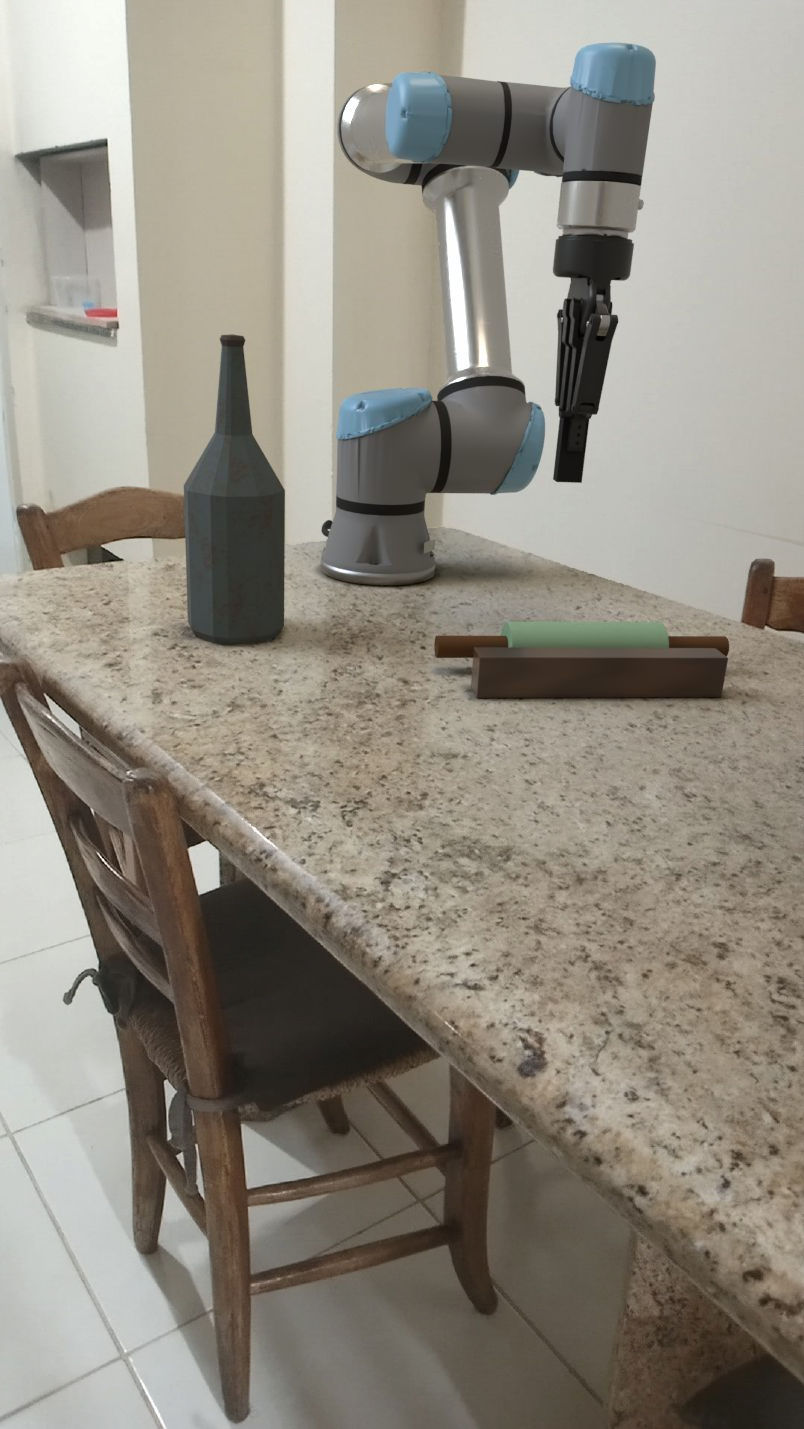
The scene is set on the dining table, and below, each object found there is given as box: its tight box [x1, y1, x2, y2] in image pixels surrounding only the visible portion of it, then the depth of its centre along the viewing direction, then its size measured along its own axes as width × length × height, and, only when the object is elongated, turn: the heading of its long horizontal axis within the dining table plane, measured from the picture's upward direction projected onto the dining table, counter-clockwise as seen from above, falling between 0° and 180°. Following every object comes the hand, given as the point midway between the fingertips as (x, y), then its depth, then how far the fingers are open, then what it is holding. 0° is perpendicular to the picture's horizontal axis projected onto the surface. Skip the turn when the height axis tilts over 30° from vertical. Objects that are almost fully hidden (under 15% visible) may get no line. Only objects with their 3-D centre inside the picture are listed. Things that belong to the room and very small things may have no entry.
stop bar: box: [470, 647, 729, 699], centre depth 97 cm, size 24×3×4 cm, turn 98°
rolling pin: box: [433, 621, 730, 659], centre depth 103 cm, size 30×5×5 cm
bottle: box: [183, 334, 286, 646], centre depth 104 cm, size 10×10×30 cm
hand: (567, 480), depth 108 cm, fingers closed
